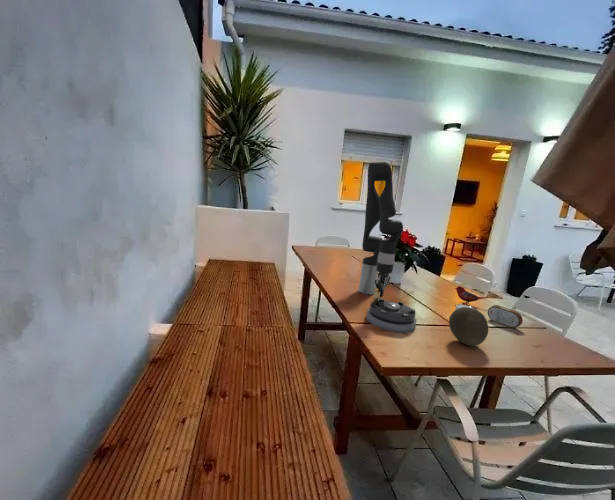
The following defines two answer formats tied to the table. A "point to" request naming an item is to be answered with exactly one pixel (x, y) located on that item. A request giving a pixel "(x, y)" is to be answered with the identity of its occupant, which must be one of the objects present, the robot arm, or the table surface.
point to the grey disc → (391, 311)
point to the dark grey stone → (468, 326)
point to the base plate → (390, 324)
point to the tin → (505, 316)
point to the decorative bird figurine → (467, 295)
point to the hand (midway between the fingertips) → (380, 296)
